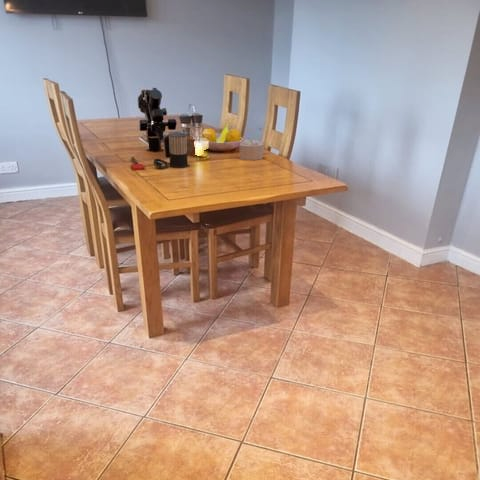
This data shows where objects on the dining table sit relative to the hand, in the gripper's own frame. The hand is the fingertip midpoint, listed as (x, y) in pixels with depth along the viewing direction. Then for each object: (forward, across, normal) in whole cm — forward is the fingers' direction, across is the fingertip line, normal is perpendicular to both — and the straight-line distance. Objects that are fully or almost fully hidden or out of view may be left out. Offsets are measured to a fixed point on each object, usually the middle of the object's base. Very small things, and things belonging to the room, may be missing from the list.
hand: (160, 139), depth 231 cm
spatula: (+13, -15, 0) cm, 20 cm away
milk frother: (+19, +1, -5) cm, 20 cm away
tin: (+5, +18, +9) cm, 21 cm away
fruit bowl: (-5, +37, +18) cm, 42 cm away
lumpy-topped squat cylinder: (+13, +46, +1) cm, 48 cm away
